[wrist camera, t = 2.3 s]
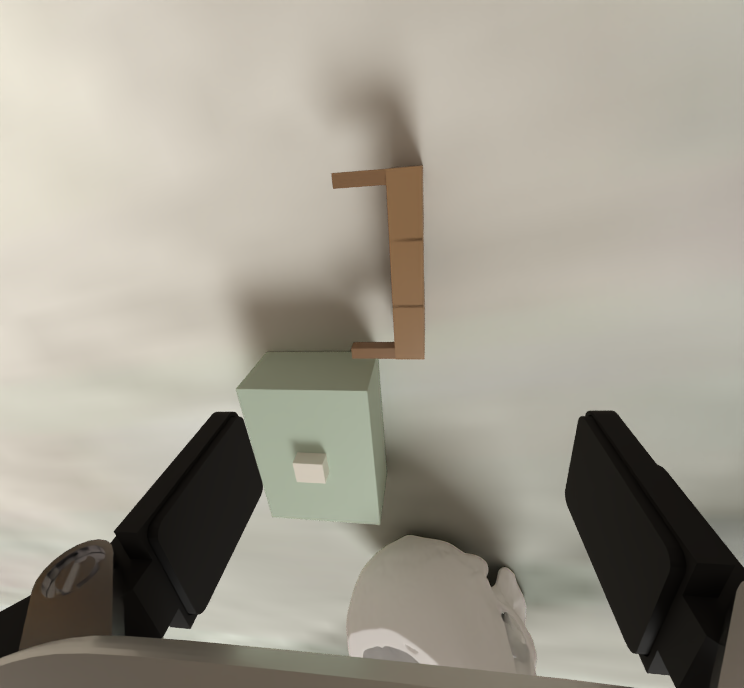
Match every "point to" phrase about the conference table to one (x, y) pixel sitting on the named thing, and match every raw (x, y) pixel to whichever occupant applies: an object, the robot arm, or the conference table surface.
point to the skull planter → (438, 610)
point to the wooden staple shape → (399, 259)
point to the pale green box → (317, 435)
